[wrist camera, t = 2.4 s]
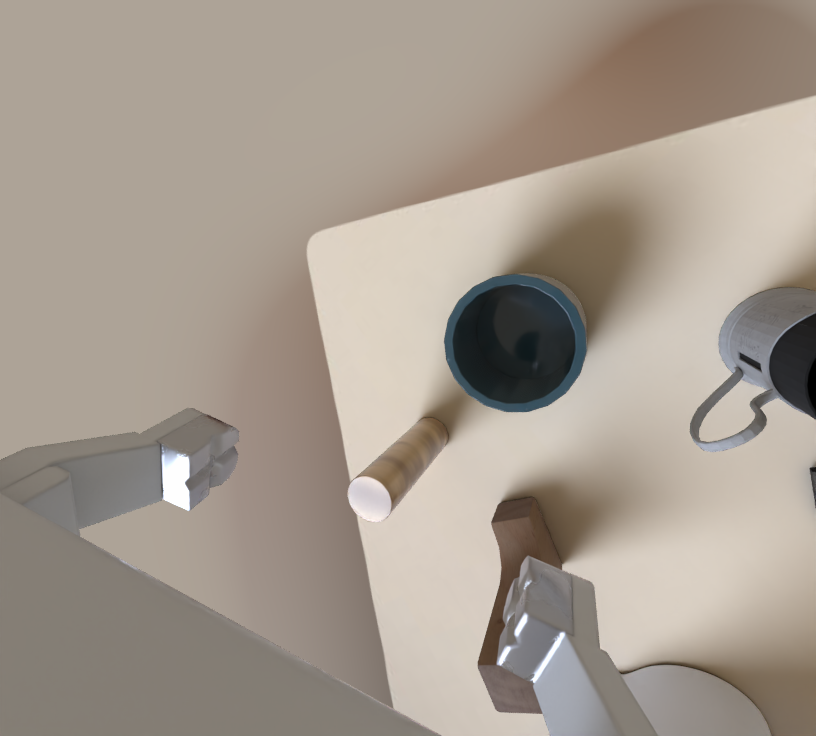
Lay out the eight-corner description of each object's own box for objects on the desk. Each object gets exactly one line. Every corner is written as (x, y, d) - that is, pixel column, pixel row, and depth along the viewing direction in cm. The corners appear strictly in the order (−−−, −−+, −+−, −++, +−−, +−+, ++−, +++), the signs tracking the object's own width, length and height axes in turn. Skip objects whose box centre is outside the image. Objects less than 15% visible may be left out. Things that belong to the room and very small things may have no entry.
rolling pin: (444, 456, 51) (387, 529, 37) (411, 444, 52) (344, 511, 38) (451, 423, 50) (395, 486, 35) (417, 412, 51) (350, 469, 37)
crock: (568, 396, 44) (563, 429, 35) (463, 368, 48) (433, 390, 39) (601, 285, 40) (605, 290, 31) (485, 264, 44) (458, 263, 35)
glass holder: (875, 350, 34) (1064, 404, 20) (697, 436, 40) (752, 521, 27) (804, 264, 34) (942, 262, 21) (639, 362, 41) (665, 409, 27)
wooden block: (497, 502, 50) (453, 615, 33) (534, 494, 48) (506, 611, 31) (525, 570, 50) (495, 714, 34) (563, 566, 48) (550, 716, 32)
